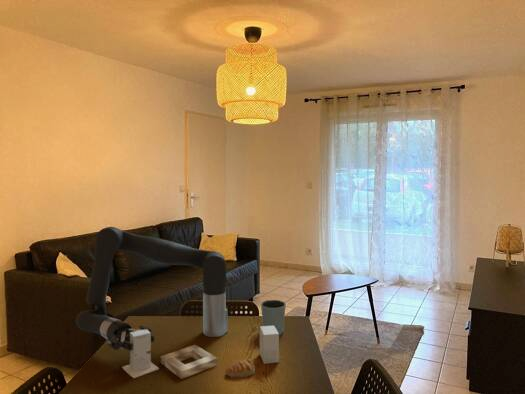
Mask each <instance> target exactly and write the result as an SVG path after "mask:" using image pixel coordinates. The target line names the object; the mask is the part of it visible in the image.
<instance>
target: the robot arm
mask: <svg viewBox="0 0 525 394" xmlns="http://www.w3.org/2000/svg"><path fill="white" fill-rule="evenodd" d="M94 249H95V251H94V252H95V253H94V262H93V267H92V271H91V276H90V281H89V283H88V284H89V285H88V289H87V294H86V299H85V302H86V303H87V304H88V305H91V306H94V309H90V310H89V309H88V310H86V309H85V310H82V311H80V312H79V313H78V314H77V316H76V320H75V323H76V326H77V327H78V329H79V330H81V331H83V332H88V333H94V334H98V335H99V336H101V337H103V338H104V339H105V340H107V346H108V347H110V348H112V349H114V350H116V351H118V350H119V349H125V350H127V351H129V352H130V351H131V350H132V349H133V346H132V343H130V332H135V331H138V330H145V329H147V330H148V331H149V332H150V333H151V343H153V342H154V341H155V335H154V334H152V330H153V329H152V328H150V327H147V326H144V325H139V328H132V326H131V325H130V324H129V323H128V322H125V321H123V320H121V319H118V318H115V317H111V316H109V315H107V308H106V307H107V306H106V305H107V304H106V303H107V302H106V301H107V300H106V299H107V295H108V291H109V287H110V285H109V284H110V278H111V276H110V274H111V269H112V268H111V267H112V263H113V259H114V257H115V253H116V251H122V252H127V253H131V254H135V255H137V256H140V257H141V258H144V259H147V260H148V261H152V262H156V263H159V264H163V265H164V264H165V265H169V266H170V265H172V266H189V267H191V266H192V267H195V268H198V269H202V315H203V316H202V325H203V326H202V334H203V335H204V336H205V337H209V338H218V337H222V336H224V335H225V334H226V333H228V331H229V330H228V329H229V328H228V327H229V324H228V318H229V317H228V316H229V313H228V311H229V310H228V309H227V308H226V307H227V306H226V305H227V304H226V303H227V302H226V300H227V299H226V298H227V297H226V295H227V293H226V291H227V290H226V288H227V263H226V260H225V259H226V258H225V257H224V255H223V254H222V253H220V252H219V251H214V250H207V249H199V248H196V247H195V248H193V247H191V246H188V245H185V244H181V243H178V242H174V241H171V240H167V239H163V238H157V237H152V236H145V235H138V234H135V233H132V232H129V231H126V230H123V229H121V228H118V227H115V226H108V227H104V228H102V229H100V230H99V231H98V232H97V234H96V236H95V248H94Z"/></svg>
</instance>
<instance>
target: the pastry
mask: <svg viewBox="0 0 525 394" xmlns="http://www.w3.org/2000/svg"><path fill="white" fill-rule="evenodd" d="M255 372H256V369H255V366H254V362H253V361H252V360H251V359H249V358H247V359H246V360H245V359H244V360H238V361H236V362H235V363H233V364H231V365H229V366H228V367H227V368H226V370H225V374H226V375H227V376H228V377H230V378H243V377H248V376H252V375H254V374H255Z"/></svg>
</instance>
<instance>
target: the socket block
mask: <svg viewBox="0 0 525 394" xmlns="http://www.w3.org/2000/svg"><path fill="white" fill-rule="evenodd" d="M190 358H193V359H194V361H191V362H189V363H186V364H185V363H183V362H182V361H185V360H189V359H190ZM160 364H161V365H163V366H164V367H165V368H166V369H167V370H169V371H170V372H172V373H173V374H174V375H175V376H177V377H178V378H179V379H180V380H182V379H185V378H188V377H190V376H193V375H195V374H198V373H201V372H202V371H206V370H209V369H210V368H214V367H217V366H218V357H216V356H214V355H213V354H211V353H210V352H208V351H206V350H204V349H203V348H201V347H200V346H198V345H197V344H193V345H189V346H187V347H185V348H184V347H183V348H181V349H179V350H175V351H173V352H169V353H166V354H164V355H160Z"/></svg>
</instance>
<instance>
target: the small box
mask: <svg viewBox="0 0 525 394" xmlns="http://www.w3.org/2000/svg"><path fill="white" fill-rule="evenodd" d="M259 355H260V358H261V360H262V363H263V364H264V365H266V364H276V363H280V335H279V333H278V331H277V330H276V328H275V326H263V325H262V326H261V325H260V326H259Z"/></svg>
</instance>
